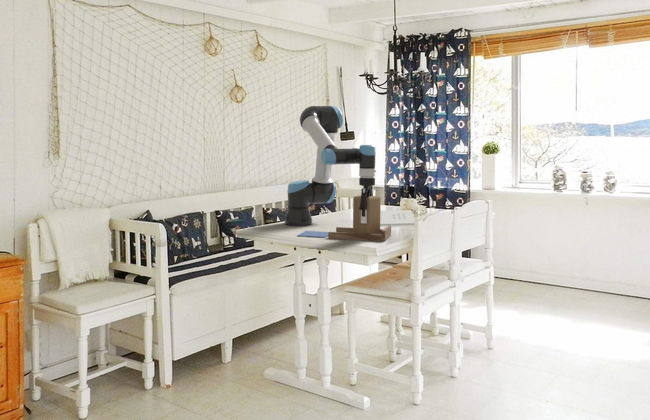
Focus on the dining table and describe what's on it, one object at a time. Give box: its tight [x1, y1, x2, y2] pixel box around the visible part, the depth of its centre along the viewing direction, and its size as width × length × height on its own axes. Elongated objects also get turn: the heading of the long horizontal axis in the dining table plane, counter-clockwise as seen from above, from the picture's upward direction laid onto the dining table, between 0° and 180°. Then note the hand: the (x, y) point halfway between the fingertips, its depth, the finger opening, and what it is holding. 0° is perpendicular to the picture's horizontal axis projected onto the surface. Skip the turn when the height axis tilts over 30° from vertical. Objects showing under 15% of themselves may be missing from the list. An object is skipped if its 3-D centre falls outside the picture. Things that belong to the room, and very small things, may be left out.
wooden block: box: [352, 195, 382, 234], centre depth 307 cm, size 10×10×20 cm
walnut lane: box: [327, 225, 392, 242], centre depth 309 cm, size 16×28×5 cm, turn 74°
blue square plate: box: [297, 230, 329, 239], centre depth 315 cm, size 14×14×1 cm
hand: (366, 221), depth 307 cm, fingers open, 13 cm apart
